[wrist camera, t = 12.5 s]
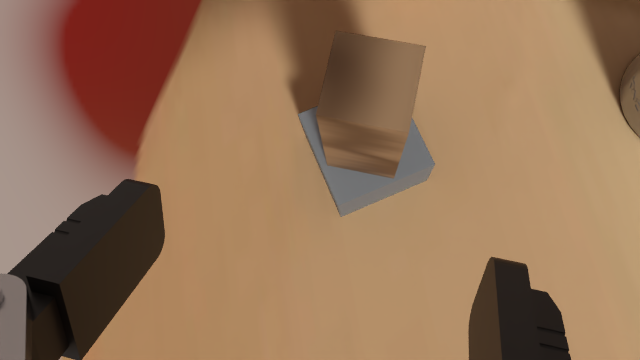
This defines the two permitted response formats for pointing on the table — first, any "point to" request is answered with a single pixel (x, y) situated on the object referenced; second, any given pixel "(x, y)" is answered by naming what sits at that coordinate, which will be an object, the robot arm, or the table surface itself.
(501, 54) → the table surface
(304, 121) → the slate gray block
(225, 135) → the table surface
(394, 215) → the table surface
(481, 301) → the robot arm
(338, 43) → the walnut block
